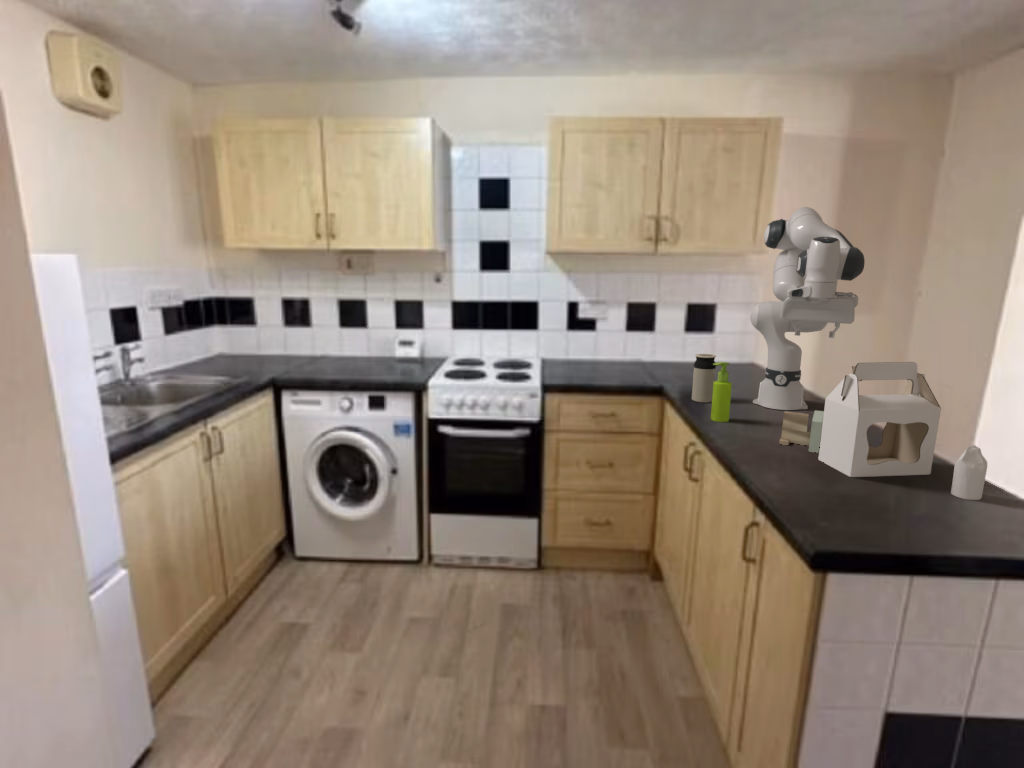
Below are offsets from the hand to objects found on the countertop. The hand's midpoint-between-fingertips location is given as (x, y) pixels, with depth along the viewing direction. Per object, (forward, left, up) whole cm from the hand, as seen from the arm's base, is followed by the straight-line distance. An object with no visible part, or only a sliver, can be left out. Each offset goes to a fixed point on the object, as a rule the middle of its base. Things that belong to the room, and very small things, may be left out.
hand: (814, 336), depth 175 cm
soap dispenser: (+2, -26, -31) cm, 40 cm away
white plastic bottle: (+40, +36, -31) cm, 62 cm away
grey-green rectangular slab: (+17, +4, -30) cm, 35 cm away
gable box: (+29, +18, -31) cm, 46 cm away
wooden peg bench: (+17, +4, -30) cm, 35 cm away
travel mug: (-24, -37, -31) cm, 54 cm away
